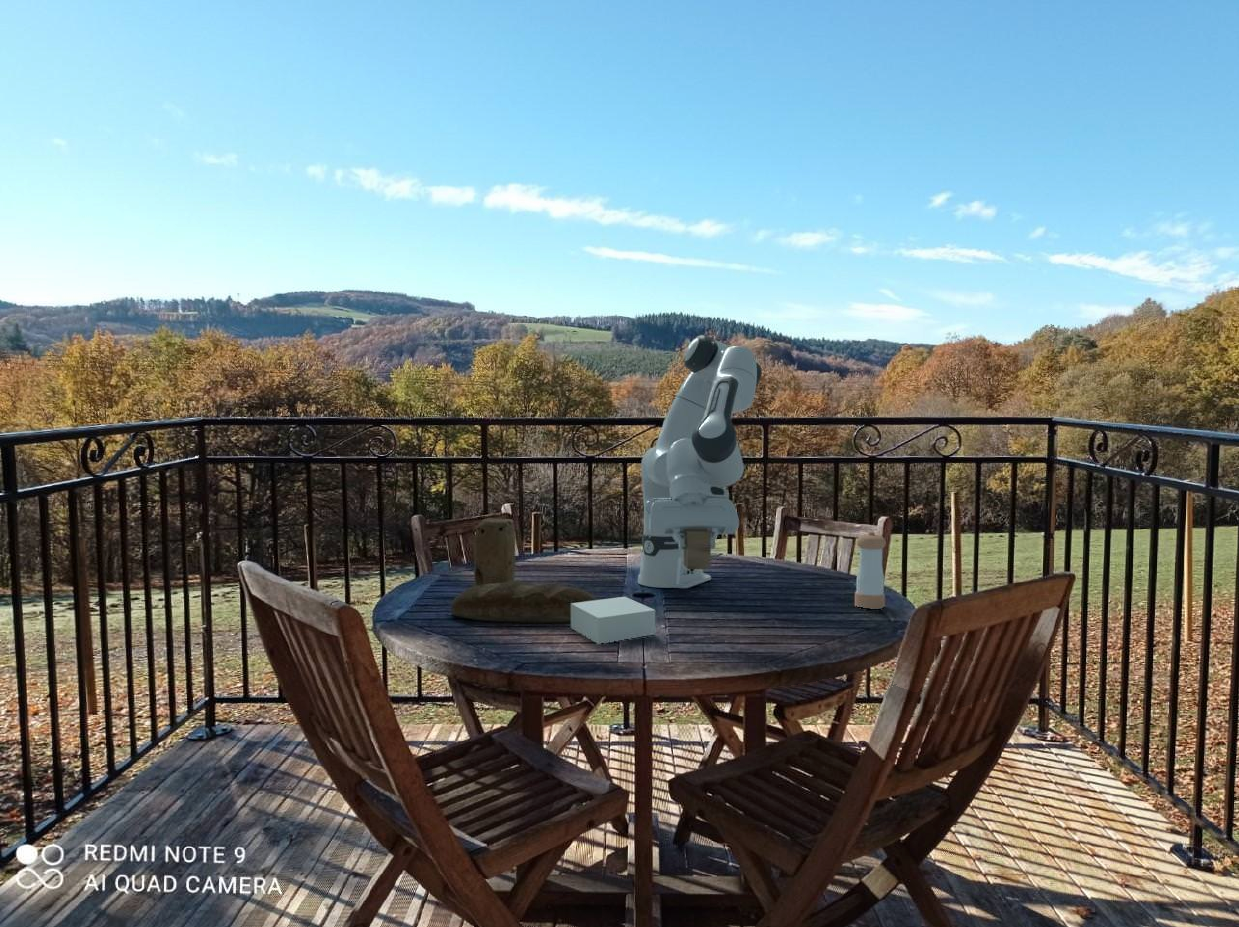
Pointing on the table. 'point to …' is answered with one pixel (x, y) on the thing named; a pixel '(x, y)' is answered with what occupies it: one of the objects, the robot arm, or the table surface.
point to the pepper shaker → (870, 572)
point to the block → (494, 551)
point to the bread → (519, 602)
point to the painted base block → (612, 619)
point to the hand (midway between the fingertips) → (697, 547)
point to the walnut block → (697, 548)
